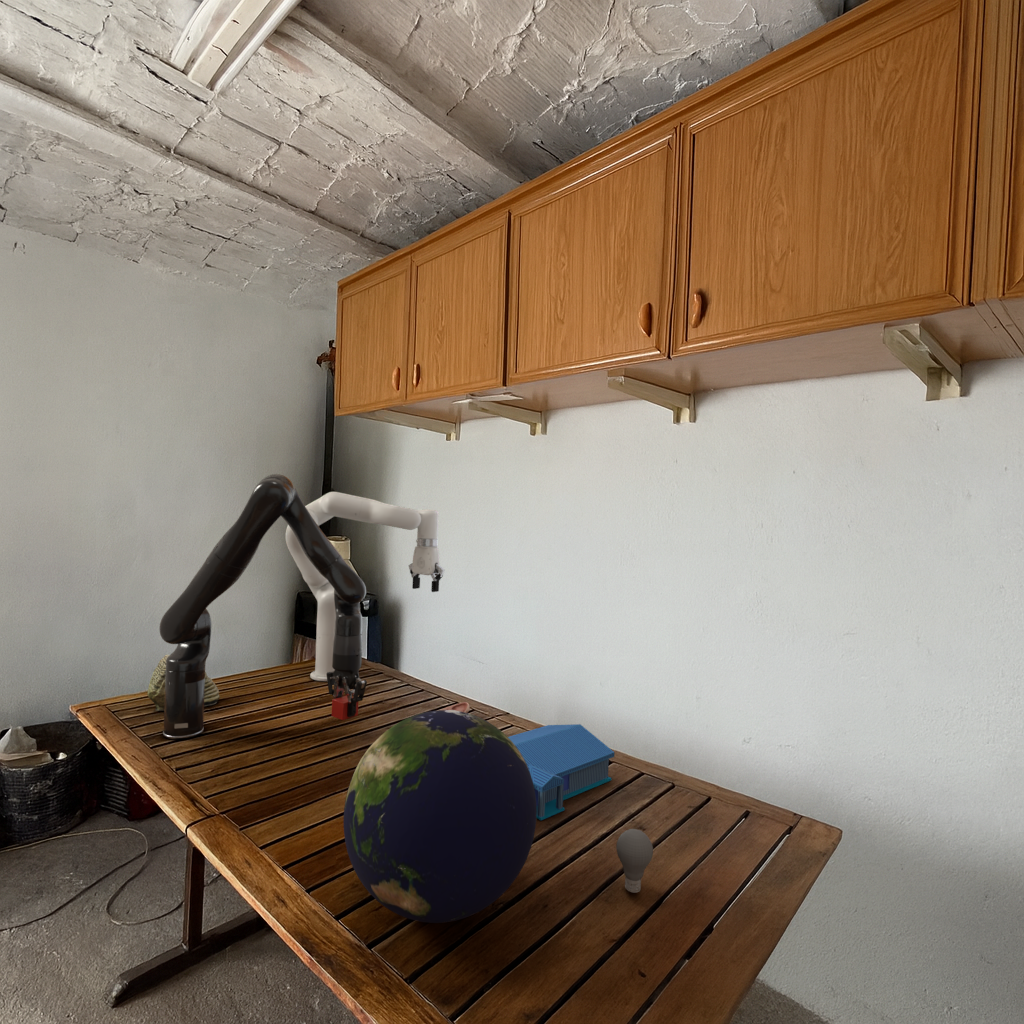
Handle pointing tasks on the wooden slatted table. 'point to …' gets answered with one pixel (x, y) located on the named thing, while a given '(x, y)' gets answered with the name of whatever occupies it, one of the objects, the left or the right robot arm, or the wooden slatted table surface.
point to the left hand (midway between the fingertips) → (344, 713)
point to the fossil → (158, 687)
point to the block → (341, 708)
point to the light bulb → (634, 857)
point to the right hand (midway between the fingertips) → (425, 590)
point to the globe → (440, 816)
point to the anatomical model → (459, 707)
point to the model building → (562, 763)
